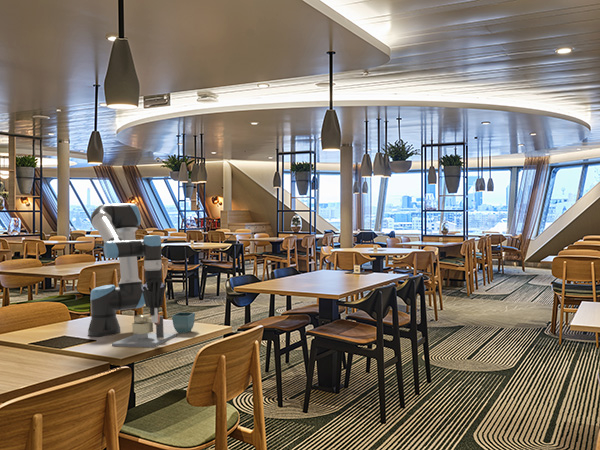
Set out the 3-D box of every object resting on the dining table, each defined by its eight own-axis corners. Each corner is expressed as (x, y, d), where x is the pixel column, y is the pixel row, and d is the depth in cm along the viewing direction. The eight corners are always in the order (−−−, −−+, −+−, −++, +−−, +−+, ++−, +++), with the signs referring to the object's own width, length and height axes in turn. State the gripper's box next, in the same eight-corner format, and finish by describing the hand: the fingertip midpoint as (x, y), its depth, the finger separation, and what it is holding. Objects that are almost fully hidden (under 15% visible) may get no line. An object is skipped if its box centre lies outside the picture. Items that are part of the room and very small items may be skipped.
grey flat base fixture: (112, 346, 247) (111, 321, 247) (137, 335, 269) (136, 312, 269) (153, 347, 243) (152, 322, 242) (176, 336, 264) (175, 313, 264)
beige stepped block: (131, 333, 255) (130, 313, 255) (143, 330, 261) (142, 310, 261) (153, 335, 247) (152, 315, 247) (165, 332, 253) (164, 313, 253)
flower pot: (189, 334, 268) (188, 315, 267) (171, 334, 269) (171, 315, 269) (196, 330, 276) (195, 312, 276) (179, 330, 278) (178, 312, 278)
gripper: (146, 271, 242) (148, 325, 241) (170, 268, 252) (171, 320, 252) (135, 270, 246) (137, 324, 246) (159, 268, 256) (160, 319, 256)
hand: (154, 322), depth 249 cm, fingers closed
